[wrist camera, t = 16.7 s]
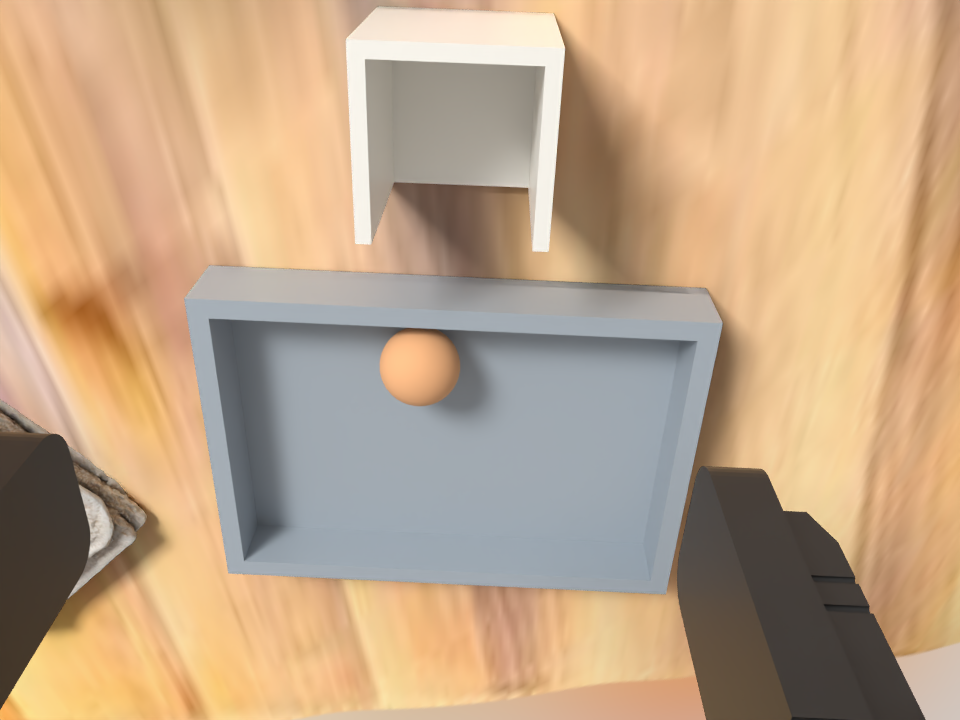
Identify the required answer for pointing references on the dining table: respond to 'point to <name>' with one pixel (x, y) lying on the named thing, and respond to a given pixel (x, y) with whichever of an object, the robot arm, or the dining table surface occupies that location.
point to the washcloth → (91, 502)
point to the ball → (419, 366)
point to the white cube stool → (454, 106)
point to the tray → (452, 427)
